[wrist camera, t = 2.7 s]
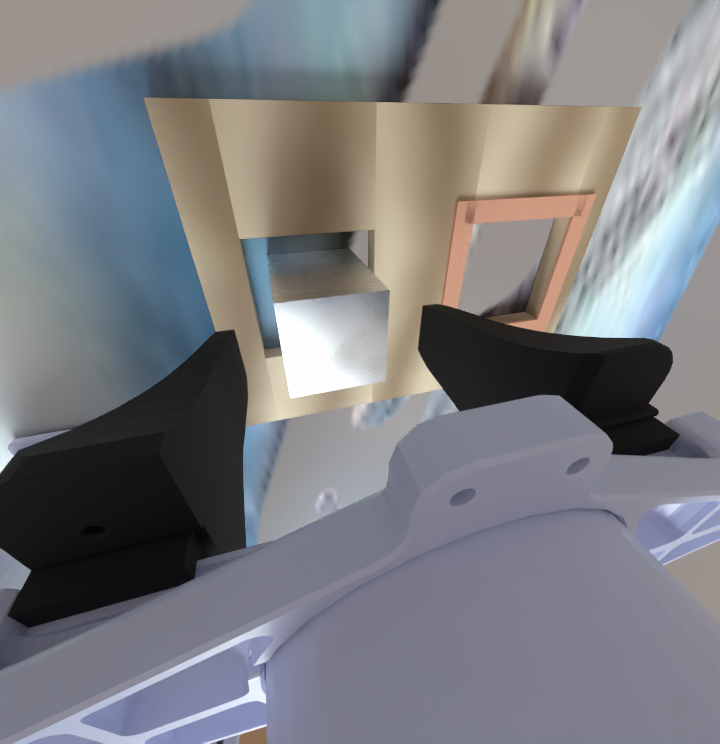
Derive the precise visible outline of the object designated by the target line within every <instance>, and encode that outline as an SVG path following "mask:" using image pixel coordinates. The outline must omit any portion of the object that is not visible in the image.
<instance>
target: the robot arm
mask: <svg viewBox="0 0 720 744" xmlns="http://www.w3.org/2000/svg"><path fill="white" fill-rule="evenodd" d="M418 351H419V353H420V355H421V357H422V359H423V361H424V363H425V365H426V367H427V368H428V370H429V371H430V372H431V374H432V375H433V376H434V378H435V379H436V380H437V382H438V383H439V384H440V386H441V387H442V388H443V390H444V391H445V392H446V394H447V395H448V396H449V397H450V399H451V400H452V401H453V403H454V404H455V405H456V407H457V408H458V410H459V411H460V412H455V413H450V414H446V415H441V416H437V417H435V418H433V419H430V420H428V421H425V422H423V423H420V424H418V425H416V426H415V427H414V428H413V429H412V430H411V431H409V432H408V433H407V434H406V435H405V436H404V437H403V438H402V439H401V440H399V442H398V443H397V445H396V447H395V450H394V452H393V455H392V457H391V459H390V462H389V475H388V482H387V486H386V487H385V488H384V489H382V490H380V491H378V492H376V493H373V494H371V495H369V496H367V497H365V498H363V499H361V500H359V501H357V502H355V503H353V504H351V505H348V506H346V507H344V508H342V509H340V510H338V511H336V512H334V513H331V514H329V515H327V516H325V517H323V518H321V519H319V520H317V521H315V522H312V523H310V524H308V525H306V526H304V527H302V528H300V529H298V530H296V531H294V532H291V533H289V534H287V535H285V536H283V537H281V538H279V539H277V540H273V541H270V542H266V543H262V544H258V545H254V546H251V547H247V548H246V533H245V514H244V488H243V446H244V436H245V426H246V416H247V406H248V384H247V374H246V371H245V367H244V363H243V360H242V356H241V352H240V348H239V345H238V341H237V337H236V334H235V330H234V329H233V330H225V331H217V332H215V333H214V334H213V335H212V336H211V337H210V338H209V339H208V340H207V341H206V342H205V343H204V344H203V345H202V346H201V347H200V348H199V349H198V350H197V351H196V352H194V353H193V354H192V355H191V356H190V357H189V358H188V359H187V360H186V361H185V362H184V363H182V364H181V365H180V366H179V367H178V368H177V369H175V370H174V371H173V372H172V373H171V374H169V375H168V376H167V377H166V378H164V379H163V380H161V381H160V382H159V383H157V384H156V385H154V386H153V387H151V388H150V389H148V390H147V391H145V392H144V393H142V394H140V395H139V396H137V397H135V398H133V399H132V400H130V401H128V402H126V403H125V404H123V405H121V406H120V407H118V408H116V409H114V410H112V411H110V412H108V413H106V414H104V415H102V416H100V417H98V418H96V419H94V420H91V421H89V422H87V423H85V424H83V425H81V426H78V427H76V428H74V429H68V430H62V431H57V432H51V433H45V434H39V435H34V436H28V437H22V438H17V439H14V440H13V441H12V442H11V443H10V444H9V446H8V450H9V451H10V452H11V453H12V454H13V455H14V456H13V458H12V459H11V460H10V462H9V463H8V464H7V465H6V467H5V468H4V469H3V471H2V472H1V473H0V744H239V739H240V734H242V733H245V732H248V731H252V730H255V729H259V728H262V727H265V726H267V744H720V623H719V622H718V621H717V620H716V619H715V618H714V617H713V616H712V615H711V614H710V613H709V612H708V611H707V610H706V609H705V608H704V607H703V606H702V605H701V604H700V603H699V602H698V601H697V599H695V598H694V596H693V595H692V594H691V593H690V592H689V591H688V590H687V589H686V588H685V587H684V586H683V585H682V584H681V583H680V582H679V581H678V580H677V579H676V578H675V577H674V576H673V575H672V574H671V573H670V572H669V571H668V570H667V569H666V568H665V567H664V566H663V565H665V564H667V563H669V562H672V561H674V560H676V559H678V558H680V557H683V556H685V555H687V554H689V553H691V552H693V551H696V550H698V549H700V548H703V547H705V546H707V545H710V544H712V543H714V542H717V541H719V540H720V421H718V420H716V419H715V418H713V417H711V416H710V415H708V414H706V413H704V412H695V413H691V414H687V415H684V416H679V417H675V418H673V419H671V420H669V421H668V422H666V423H665V424H663V423H662V422H660V421H659V420H657V419H656V418H654V416H657V415H658V413H659V411H658V410H657V409H656V408H655V407H653V406H651V405H650V404H648V403H649V402H650V400H651V399H652V397H653V396H654V395H655V393H656V391H657V390H658V389H659V387H660V386H661V384H662V383H663V381H664V380H665V378H666V376H667V375H668V373H669V372H670V369H671V366H672V363H673V355H672V351H671V350H670V348H669V347H667V346H665V345H662V344H661V343H659V342H657V341H655V340H652V339H646V338H599V337H583V336H572V335H562V334H555V333H547V332H541V331H535V330H530V329H525V328H521V327H516V326H512V325H508V324H504V323H501V322H497V321H493V320H490V319H487V318H484V317H481V316H477V315H474V314H471V313H468V312H465V311H462V310H459V309H456V308H453V307H449V306H446V305H441V304H431V305H423V307H422V315H421V324H420V333H419V342H418Z"/></svg>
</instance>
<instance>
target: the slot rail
mask: <svg viewBox="0 0 720 744" xmlns="http://www.w3.org/2000/svg"><path fill="white" fill-rule="evenodd" d="M143 98H144V97H143ZM144 101H145V105H146V108H147V111H148V114H149V118H150V121H151V124H152V127H153V131H154V134H155V137H156V140H157V144H158V147H159V150H160V153H161V156H162V160H163V163H164V166H165V169H166V173H167V176H168V179H169V182H170V186H171V189H172V192H173V195H174V198H175V202H176V205H177V208H178V211H179V215H180V218H181V221H182V224H183V228H184V231H185V234H186V237H187V241H188V244H189V247H190V250H191V253H192V257H193V260H194V263H195V266H196V270H197V273H198V276H199V279H200V283H201V286H202V289H203V292H204V296H205V299H206V302H207V305H208V308H209V312H210V315H211V318H212V321H213V325H214V328H215V331H216V332H217V331H225V330H233V329H234V330H235V334H236V337H237V341H238V345H239V348H240V352H241V356H242V360H243V363H244V367H245V371H246V374H247V384H248V406H247V416H246V426H251V425H256V424H261V423H266V422H272V421H277V420H282V419H287V418H292V417H298V416H303V415H308V414H313V413H318V412H324V411H329V410H334V409H339V408H344V407H350V406H355V405H360V404H365V403H371V402H376V401H381V400H386V399H392V398H397V397H402V396H407V395H412V394H417V393H422V392H427V391H433V390H439V389H443V388H442V387H441V386H440V384H439V383H438V382H437V380H436V379H435V378H434V376H433V375H432V374H431V372H430V371H429V370H428V368H427V367H426V365H425V363H424V361H423V359H422V357H421V355H420V353H419V351H418V342H419V333H420V324H421V315H422V307H423V305H431V304H441V305H446V306H449V307H453V308H456V309H458V304H459V299H460V293H461V288H462V282H463V277H464V271H465V266H466V260H467V255H468V249H469V244H470V238H471V232H472V227H473V224H474V223H488V222H502V221H516V220H530V219H544V218H554V221H553V225H552V228H551V231H550V234H549V237H548V241H547V244H546V247H545V250H544V253H543V256H542V260H541V263H540V266H539V269H538V272H537V275H536V279H535V282H534V285H533V288H532V291H531V294H530V298H529V301H528V304H527V307H526V310H525V312H521V313H514V314H507V315H500V316H493V317H486V318H487V319H490V320H493V321H497V322H501V323H504V324H508V325H512V326H516V327H521V328H525V329H530V330H535V331H541V332H547V333H554V331H555V329H556V326H557V324H558V321H559V319H560V316H561V313H562V311H563V308H564V306H565V303H566V301H567V298H568V295H569V293H570V290H571V288H572V285H573V283H574V280H575V277H576V275H577V272H578V270H579V267H580V265H581V262H582V259H583V257H584V254H585V252H586V249H587V246H588V244H589V241H590V239H591V236H592V234H593V231H594V228H595V226H596V223H597V221H598V218H599V216H600V213H601V210H602V208H603V205H604V203H605V200H606V198H607V195H608V192H609V190H610V187H611V185H612V182H613V180H614V177H615V174H616V172H617V169H618V167H619V164H620V162H621V159H622V156H623V154H624V151H625V149H626V146H627V144H628V141H629V138H630V136H631V133H632V131H633V128H634V125H635V123H636V120H637V118H638V115H639V113H640V110H641V107H603V106H602V107H601V106H550V105H501V104H449V103H399V102H348V101H297V100H246V99H195V98H144ZM362 230H369V239H368V241H369V243H368V245H369V246H368V268H369V269H370V270H371V271H372V272H373V273H374V274H375V275H376V276H377V277H378V278H379V279H380V280H381V281H382V283H383V284H384V285H385V286H386V287H387V288H388V289H389V290H390V298H389V320H388V342H387V364H386V381H384V382H378V383H373V384H367V385H361V386H356V387H350V388H345V389H339V390H333V391H328V392H322V393H317V394H311V395H305V396H300V397H294V398H290V393H289V387H288V382H287V376H286V371H285V365H284V360H283V354H282V349H281V347H277V348H270V349H265V347H264V343H263V338H262V334H261V329H260V324H259V320H258V315H257V310H256V306H255V301H254V296H253V292H252V287H251V283H250V278H249V273H248V269H247V264H246V259H245V255H244V250H243V245H242V241H241V239H248V238H262V237H276V236H290V235H305V234H319V233H333V232H347V231H362Z"/></svg>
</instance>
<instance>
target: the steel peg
mask: <svg viewBox="0 0 720 744" xmlns="http://www.w3.org/2000/svg"><path fill="white" fill-rule="evenodd" d="M267 259H268V266H269V274H270V282H271V289H272V297H273V304H274V310H275V315H276V321H277V326H278V332H279V337H280V343H281V349H282V354H283V360H284V365H285V371H286V376H287V382H288V387H289V393H290V398H294V397H300V396H305V395H311V394H317V393H322V392H328V391H333V390H339V389H345V388H350V387H356V386H361V385H367V384H373V383H378V382H384V381H386V364H387V342H388V320H389V298H390V290H389V289H388V288H387V287H386V286H385V285H384V284H383V283H382V281H381V280H380V279H379V278H378V277H377V276H376V275H375V274H374V273H373V272H372V271H371V270H370V269H369V268H368V267H367V266H366V265H365V264H364V263H363V262H362V261H361V260H360V259H359V258H358V257H357V256H356V255H355V254H354V253H353V252H352V251H351V250H350V249H349V248H346V249H334V250H322V251H309V252H297V253H285V254H273V255H267Z"/></svg>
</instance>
